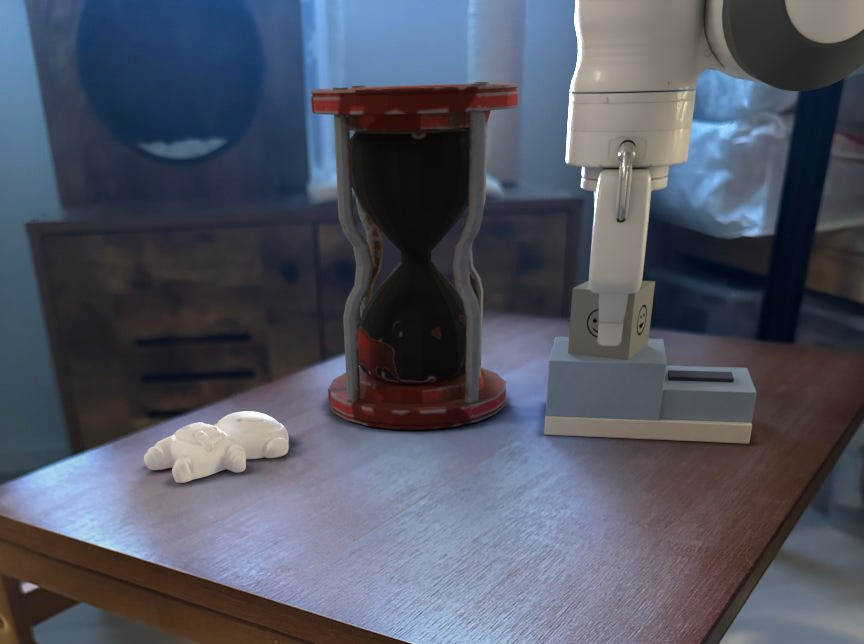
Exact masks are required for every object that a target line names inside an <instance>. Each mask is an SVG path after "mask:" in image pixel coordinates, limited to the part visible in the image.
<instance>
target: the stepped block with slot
mask: <svg viewBox="0 0 864 644" xmlns="http://www.w3.org/2000/svg"><path fill="white" fill-rule="evenodd" d="M568 346H569V336H555V338H554V342H553V345H552V348H551V352H550V356H549V360H548V371H547V386H546V402H545V416H544V417H545V418H544V432H543V433H544V435H545V436H546V435H548V436H568V437H569V436H570V437H592V438H593V437H594V438H613V439H614V438H616V439H636V440H637V439H638V440H660V441H679V442H681V441H682V442H701V443H702V442H704V443H705V442H707V443H725V444H726V443H727V444H746V445H747V444H750V442H751V441H750V440H751V435H752V428H753V424H752V422H753V416H754V411H755V405H756V399H757V394H758V393H757V390H756V388H755V385H754V383H753V380H752V377H751V374H750V372H749V369H748V367H733V366H731V367H730V366H700V365H699V366H697V365H667V356H666V349H665V341H664V339H663V338H649V340H648V346H646V347H645V348H644V349H642V350H641V351H640V352H638V353H637V354H635V355H634V356H633V357H631V358H630V359H629V360H625V359H616V358H607V357H598V356H589V355H580V354H571V353H568Z"/></svg>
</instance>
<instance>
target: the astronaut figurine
mask: <svg viewBox="0 0 864 644" xmlns="http://www.w3.org/2000/svg"><path fill="white" fill-rule="evenodd" d="M289 437H290V435H289V433H288V431H287V428H286V427H285V426H284V424H282V423H280V422H279V421H278V420H277V419H275V418H273V416H271V415H268V414H265V413H262V412H260V411H252V410H251V411H250V410H247V411H246V410H244V411H237V412H231V413H228V414H227V415H225V416H223V417H221V418H220V419H219V420H218V421H217V422H216V423H214V425H213V424H210V423H206V422H201V421H200V422H199V421H198V422H192V423H190V424H187V425H186V426H183V427H180V428H179V429H177V430H176V431H175V432H174V433H173V434H172V435H170V436H168V437H165V438H163V439H161V440H158V441H157V442H156V443H155V444H154V446H150V447H149V448H148V449H147V450H146V453H145V454H144V456H143V462H144V464H145V466H146V467H147V468H148V469H149V470H151V471H161V470H166V469H171V468H172V470H171V473H172V476H173V479H174V481H175V482H176V483H177V484H184V483H188V482H190V481H193V480H197V479H198V480H199V479H202V478H205V477H208V476H211V475H214V474H217V473H219V472H222V471H225V470H227V471H230V472H232V473H236V474H238V473H242V472H245V470H246V468H247V460H257V459H262V458H263V459H264V458H266V459H276V458H281V457H283V456H286V455H287V454H288V453H289V449H290V448H289V447H290V443H289V442H290V438H289Z"/></svg>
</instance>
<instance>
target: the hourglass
mask: <svg viewBox="0 0 864 644" xmlns="http://www.w3.org/2000/svg"><path fill="white" fill-rule="evenodd" d="M517 88H519V84H518V83H517V82H513V83H512V82H506V83H505V82H504V83H503V82H501V83H494V82H493V83H490V82H489V81H474V83H459V84H458V83H456V84H455V83H454V84H448V83H447V84H416V85H386V86H366V85H365V84H363V85H361V84H360V85H351V87H348V86H347V87H345V86H342V87H340V86H339V87H332V88H318V89H317V88H316V89H311V90H310V94H312V96H311V97H310V103H311V104H310V105H311V113H312V114H315V115H325V116H326V115H328V116H329V115H330V116H333V125H334V126H333V127H334V147H335V169H336V170H335V171H336V191H337V213H338V220H339V223H340V226H341V229H342V232H343V235H344V236H345V237H346V239H347V240H348V241H349V243H350V245H352V249H353V254H354V260H355V273H354V274H355V275H354V276H355V277H354V284H353V287H352V289H351V291H350V293H349V295H348V297H347V299H346V300H345V305H344V311H343V316H342V319H343V337H344V340H343V341H344V342H343V343H344V359H345V360H344V361H345V372H343V374H341V375H339V376H338V377H336V378H334V379H332V381H331V383H330V384H329V386H328V387H327V397H328V398H327V399H328V406H329V408H330V409H331V411H332V413H333V414H335V415H336V416H339V417H340V418H342V419H344V420H346V421H347V422H350V423H351V422H352V423H355V424H360V425H363V426H367V427H373V428H381V429H389V430H390V429H391V430H418V431H419V430H420V431H421V430H422V431H423V430H424V431H425V430H435V429H446V428H455V427H460V426H464V425H468V424H474V423H475V424H476V423H477V422H480V421H483V420H485V419H488V418H490V417H492V416H495V415H496V414H498V413H499V412H500V411H501V410H502V409H503V408H504V407H505V406H506V400H507V381H506V380H505V379H503V377H502V376H500V375H499V374H498V373H497V372H494V371H491V370H489V369H486V368H484V367H482V352H483V351H482V350H483V320H484V319H483V315H484V288H483V284H482V278H481V275H479V273H478V271H477V270H476V268H475V266H474V258H473V257H474V256H473V249H472V248H473V243H474V241H475V239H477V238H476V237H477V236H478V234H479V232H480V230H481V225H482V222H483V218H484V208H485V204H486V200H487V167H488V166H487V164H488V163H487V162H488V127H489V126H488V125H489V123H488V122H489V117H490V114H491V111H500V110H509V109H516V108H517V107H518V105H519V103H518V100H519V90H518V89H517ZM352 131H353V135H352V136H351V132H352ZM353 192H354V195H355V203H356V208H357V213H358V217H359V220H360V221H361V225H362V226H363V229H364V230H365V235H366V236H365V237H366V238H364V236H363V235H362V234H361V233H360V230H359V227H358V225H357V222H356V219H355V217H354V203H353ZM466 210H467V215H466V216H465V218H464V219H463V221H462V224H461V226H460V227H459V229H458V234H457V240H456V241H455V242H454V247H453V254H452V257H451V262H450V263H451V264H450V266H451V271H452V272H451V273H452V277H453V278H452V279H453V283H454V284H453V283H452V282H451V281H450V280H449V278H447V276H446V275H445V274H444V273H443V272H442V271H441V269H439V267H437V266H436V265H435V264H434V262H432V251H433V250H434V249H435V248H436V247H437V246H438V244H439V243H440V242H441V241H442V240H443V239H444V238H445V237H446V235H447V234H448V233H449V232H450V231H451V230H452V228H453V227H454V226H455V225H456V224H457V223H458V221H459V220H460V218H461V217H462V216H463V214H464V213H465V212H466ZM382 234H383V235H384V236H385V237H386V238H387V239H388V240H389V241H390V243H391V244H392V245H393V246H394V247H395V248H396V249H397V250H398V251H399V252H400V263H398V265H397V266H396V267H395V268H394V269H393V270H392V271H391V273H390V274H389V275H388V276H387V277H386V278H385V280H384V281H383V282H382V283H381V284H380V285H379V287H378V288H377V290H376V291H375V292H374V293H373V291H374V288H375V283H376V279H377V277H378V275H379V274H380V272H381V270H382V266H383V259H384V252H385V248H384V243H383V236H382ZM359 315H360V318H359V321H358V317H359Z"/></svg>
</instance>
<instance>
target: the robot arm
mask: <svg viewBox="0 0 864 644" xmlns="http://www.w3.org/2000/svg"><path fill="white" fill-rule="evenodd" d="M574 27H575V33H576V38H577V60H576V66H575V69H574V73H573V76H572V79H571V82H570V89H569V99H568V100H569V101H568V102H569V103H568V118H567V133H566V147H565V148H566V149H565V163H566V165H568V166H572V167H581V179H580V189H582V190H584V191H590V192H593V207H594V209H593V220H592V233H591V246H590V257H589V269H588V280H589V288H590V291H591V292H593V293H599V326H598V339H597V341H598V344H599V345H601V346H618V345H619V344H620V343H621V340H622V331H623V322H624V317H625V312H626V307H627V302H628V294H634V293H637V292H638V291H639V289H640V287H641V283H642V281H643V277H644V267H645V258H646V250H647V249H646V248H647V240H648V239H647V238H648V229H649V219H650V209H651V200H652V199H651V197H652V192H654V191H660V190H663V189H666V188H667V186H668V180H669V177H668V175H669V172H670V171H669V170H670V167H672V166H677V165H678V166H679V165H682V164H685V163H687V162H688V159H689V151H690V143H691V136H692V126H693V119H694V110H695V103H696V95H697V86H698V80H699V78H700V75H702V73H703V72H704V71H706V70H712V71H717V72H720V73H722V74H724V75H726V76H728V77H730V78H733V79H737V80H743V81H744V80H745V81H748V82H754V83H764V84H766V85H768V86H771V87H772V88H774V89H775V88H776V89H778V90H783V91H787V92H808V91H809V92H810V91H815V90H819V89H821V88H826V87H829V86H831V85H833V84H836V83H838V82H840V81H842V80H843V79H845V78H847V77H849V76H850V75H851V74H853V73H854V72H856V71H857V70H859V69H860V68H861V67H863V66H864V0H575V6H574Z"/></svg>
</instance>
